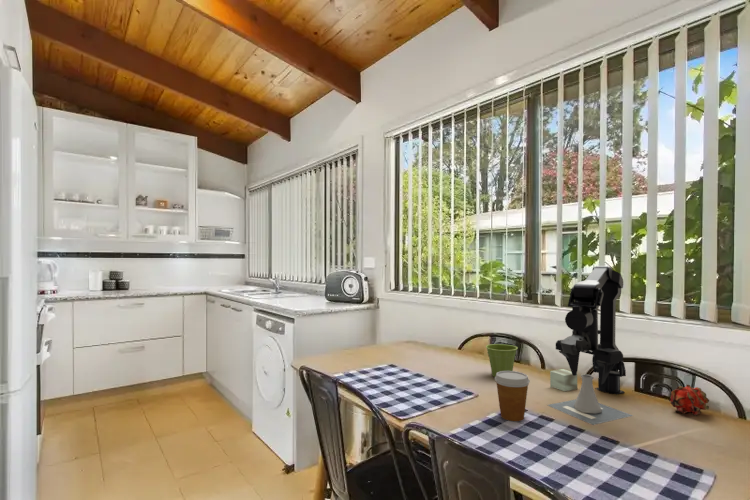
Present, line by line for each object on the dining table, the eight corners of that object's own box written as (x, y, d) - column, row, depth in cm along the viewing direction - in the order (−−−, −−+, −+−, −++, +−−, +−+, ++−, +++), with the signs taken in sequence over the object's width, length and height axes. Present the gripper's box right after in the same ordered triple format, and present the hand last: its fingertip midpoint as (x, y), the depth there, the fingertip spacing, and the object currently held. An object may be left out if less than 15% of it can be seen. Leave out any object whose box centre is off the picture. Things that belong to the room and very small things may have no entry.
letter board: (584, 399, 129) (584, 397, 129) (633, 417, 115) (633, 415, 115) (546, 407, 123) (546, 404, 123) (593, 427, 109) (593, 424, 109)
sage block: (563, 386, 143) (562, 369, 144) (577, 391, 138) (577, 373, 138) (550, 388, 141) (550, 371, 141) (564, 393, 136) (564, 375, 136)
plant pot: (521, 374, 157) (520, 345, 157) (513, 382, 147) (513, 351, 147) (490, 370, 164) (490, 342, 164) (481, 377, 154) (481, 348, 154)
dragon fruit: (707, 416, 119) (678, 427, 116) (682, 392, 126) (653, 402, 122) (723, 399, 114) (693, 410, 111) (696, 375, 121) (666, 384, 117)
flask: (607, 414, 116) (606, 379, 116) (582, 415, 115) (582, 379, 115) (592, 405, 123) (591, 372, 123) (569, 405, 122) (568, 372, 123)
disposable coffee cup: (490, 411, 120) (489, 370, 120) (521, 410, 121) (520, 369, 121) (502, 424, 111) (502, 380, 111) (536, 423, 111) (535, 379, 112)
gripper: (541, 323, 125) (542, 374, 125) (595, 333, 108) (596, 392, 107) (568, 321, 129) (569, 370, 129) (624, 330, 112) (625, 387, 112)
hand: (587, 379), depth 119 cm, fingers open, 9 cm apart
